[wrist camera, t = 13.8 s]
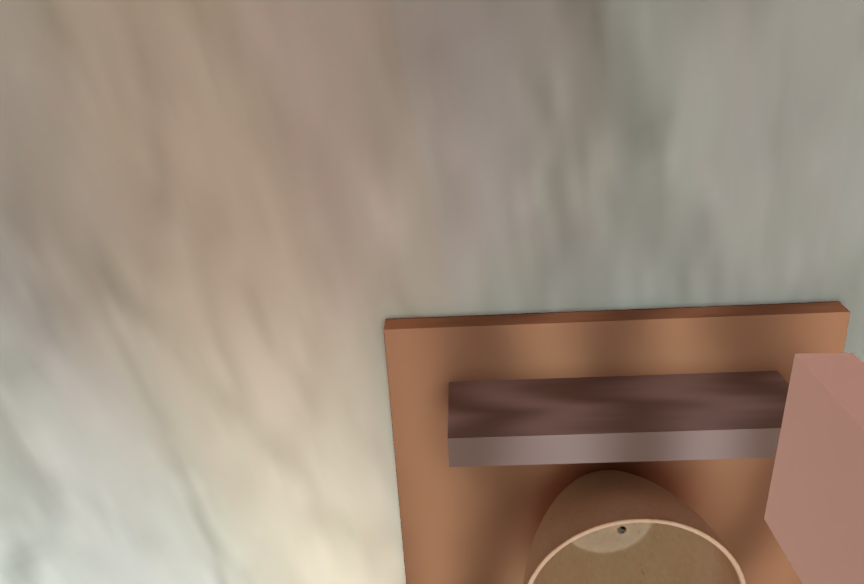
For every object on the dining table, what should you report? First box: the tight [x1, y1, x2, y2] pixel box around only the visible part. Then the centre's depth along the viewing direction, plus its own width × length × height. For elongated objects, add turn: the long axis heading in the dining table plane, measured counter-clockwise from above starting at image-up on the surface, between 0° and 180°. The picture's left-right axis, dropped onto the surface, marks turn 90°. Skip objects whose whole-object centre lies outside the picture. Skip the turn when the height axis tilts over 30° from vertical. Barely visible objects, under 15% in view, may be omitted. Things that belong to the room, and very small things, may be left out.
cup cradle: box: [384, 302, 850, 584], centre depth 39 cm, size 22×22×6 cm
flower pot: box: [523, 470, 746, 584], centre depth 38 cm, size 10×10×7 cm
